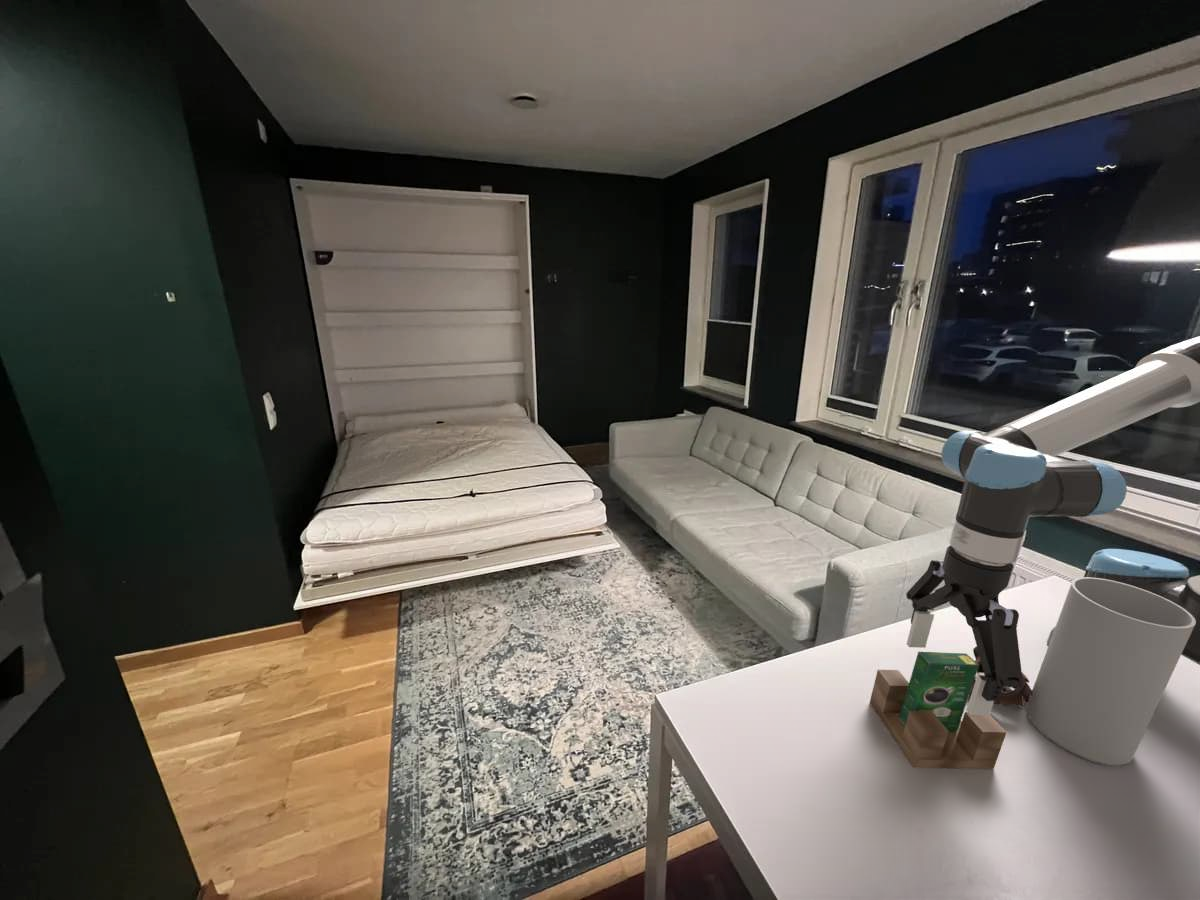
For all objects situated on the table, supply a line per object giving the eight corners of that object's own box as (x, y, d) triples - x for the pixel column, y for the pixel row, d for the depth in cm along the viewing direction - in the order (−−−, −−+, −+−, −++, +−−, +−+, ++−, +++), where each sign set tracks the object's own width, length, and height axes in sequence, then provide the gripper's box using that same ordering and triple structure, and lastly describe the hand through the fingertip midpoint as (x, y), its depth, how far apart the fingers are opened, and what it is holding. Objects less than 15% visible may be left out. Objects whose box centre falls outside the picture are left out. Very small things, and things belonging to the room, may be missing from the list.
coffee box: (946, 718, 77) (966, 651, 74) (959, 733, 75) (981, 664, 71) (897, 716, 77) (915, 649, 74) (908, 732, 75) (927, 663, 71)
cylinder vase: (1131, 785, 69) (1200, 641, 61) (1020, 729, 77) (1068, 597, 70) (1130, 735, 77) (1191, 603, 70) (1030, 690, 86) (1074, 568, 78)
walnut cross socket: (938, 704, 82) (948, 671, 80) (993, 769, 71) (1006, 732, 69) (869, 702, 82) (877, 669, 80) (913, 767, 70) (924, 730, 68)
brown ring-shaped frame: (1047, 719, 80) (1047, 693, 76) (985, 730, 83) (982, 706, 79) (999, 656, 90) (997, 630, 87) (945, 667, 93) (941, 643, 89)
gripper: (899, 515, 79) (874, 623, 85) (1031, 607, 55) (982, 748, 61) (944, 516, 79) (916, 624, 85) (1095, 608, 55) (1040, 749, 61)
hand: (943, 676), depth 73 cm, fingers open, 13 cm apart
